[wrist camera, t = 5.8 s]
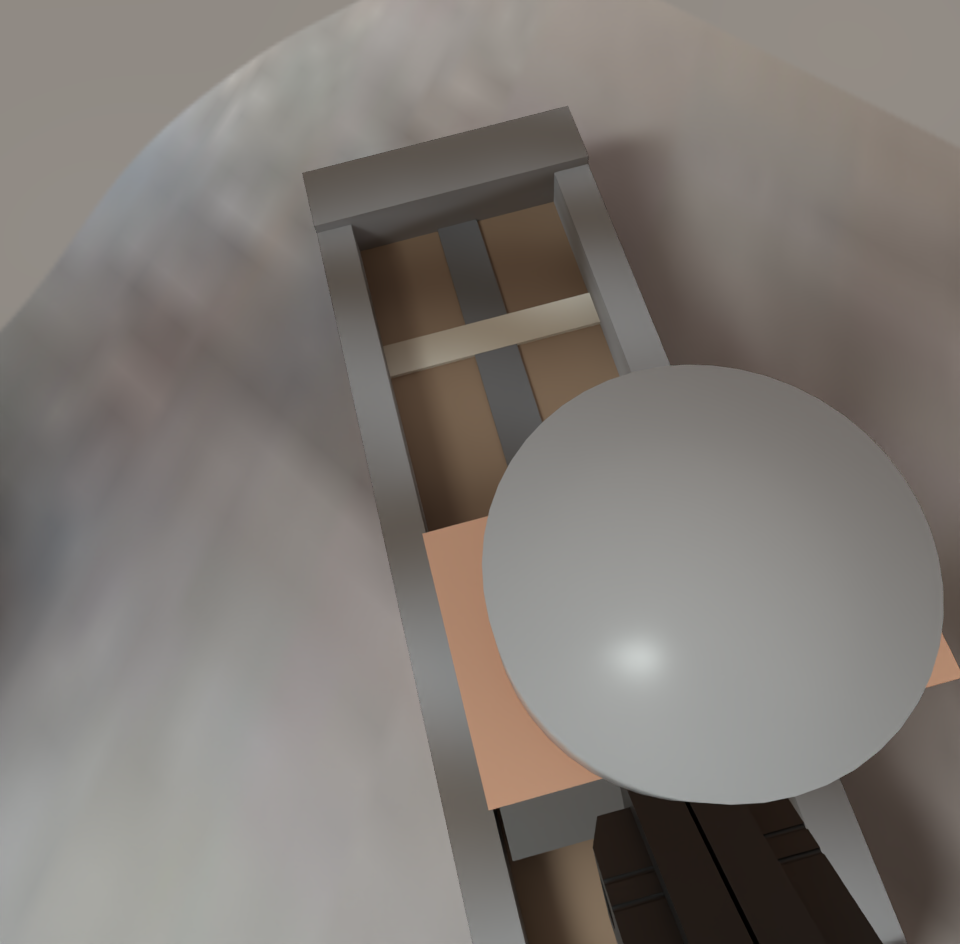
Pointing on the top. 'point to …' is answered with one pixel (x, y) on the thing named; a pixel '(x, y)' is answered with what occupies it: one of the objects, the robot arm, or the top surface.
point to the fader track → (494, 436)
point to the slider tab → (686, 603)
